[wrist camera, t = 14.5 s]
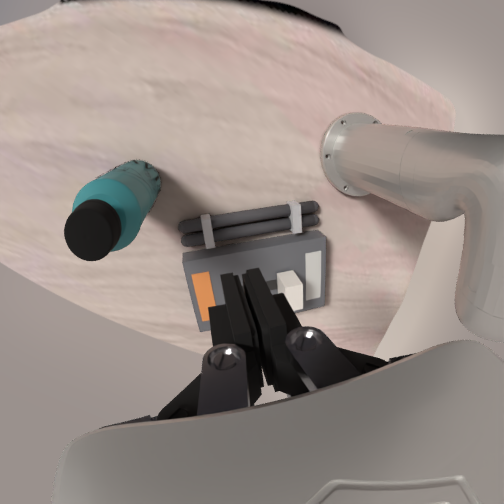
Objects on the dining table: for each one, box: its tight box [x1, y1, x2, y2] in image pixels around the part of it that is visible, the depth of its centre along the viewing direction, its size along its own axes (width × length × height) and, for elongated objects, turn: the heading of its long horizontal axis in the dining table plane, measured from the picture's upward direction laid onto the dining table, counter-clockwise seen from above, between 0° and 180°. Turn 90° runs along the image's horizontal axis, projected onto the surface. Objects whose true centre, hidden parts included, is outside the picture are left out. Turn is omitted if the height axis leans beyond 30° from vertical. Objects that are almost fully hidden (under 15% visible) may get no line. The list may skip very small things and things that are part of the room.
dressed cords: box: [178, 200, 319, 249], centre depth 39 cm, size 20×4×2 cm, turn 96°
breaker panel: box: [182, 230, 326, 332], centre depth 42 cm, size 20×12×3 cm, turn 96°
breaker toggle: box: [277, 270, 303, 311], centre depth 39 cm, size 2×4×4 cm, turn 6°
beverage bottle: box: [64, 159, 161, 261], centre depth 26 cm, size 6×7×20 cm
